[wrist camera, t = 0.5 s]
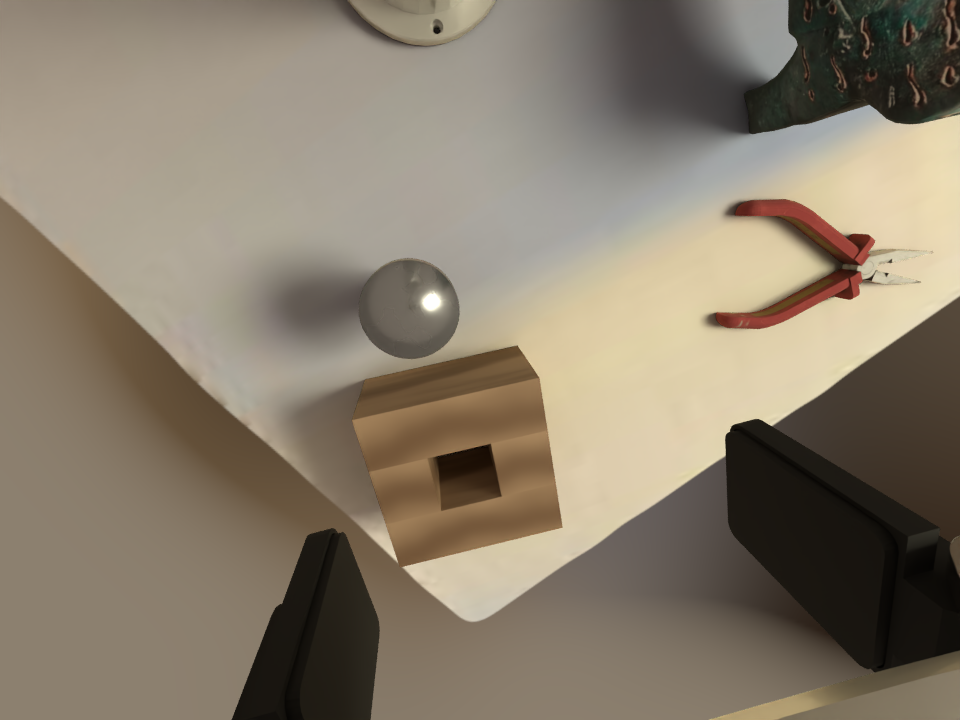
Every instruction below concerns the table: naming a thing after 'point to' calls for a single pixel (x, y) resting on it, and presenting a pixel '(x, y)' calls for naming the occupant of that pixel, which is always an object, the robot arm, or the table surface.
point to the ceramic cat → (864, 63)
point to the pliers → (838, 283)
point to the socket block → (459, 454)
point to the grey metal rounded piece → (409, 308)
